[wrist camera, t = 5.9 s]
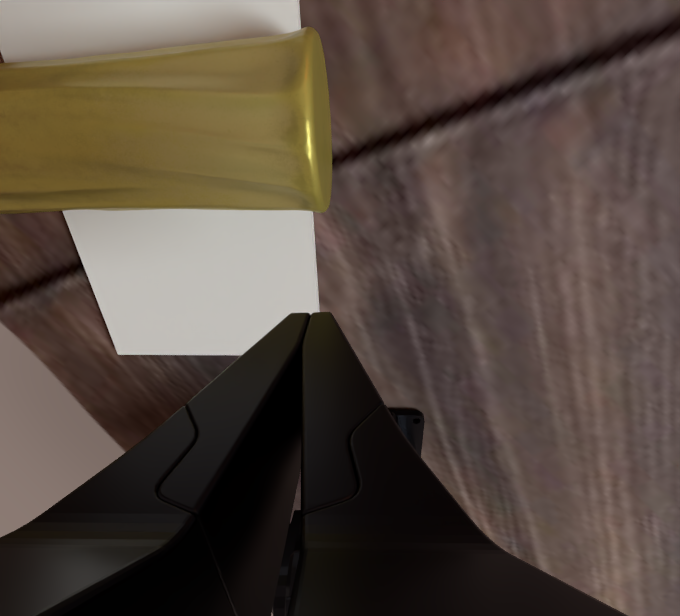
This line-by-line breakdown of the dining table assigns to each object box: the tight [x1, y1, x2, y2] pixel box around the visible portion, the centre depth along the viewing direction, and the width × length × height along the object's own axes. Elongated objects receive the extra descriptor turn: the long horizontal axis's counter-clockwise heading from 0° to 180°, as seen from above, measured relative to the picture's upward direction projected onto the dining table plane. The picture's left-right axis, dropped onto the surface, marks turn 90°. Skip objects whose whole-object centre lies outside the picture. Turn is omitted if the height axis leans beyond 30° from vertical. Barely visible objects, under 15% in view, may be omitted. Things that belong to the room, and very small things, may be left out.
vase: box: [0, 27, 332, 214], centre depth 16 cm, size 6×6×14 cm
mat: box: [0, 0, 320, 355], centre depth 19 cm, size 24×12×1 cm, turn 2°
